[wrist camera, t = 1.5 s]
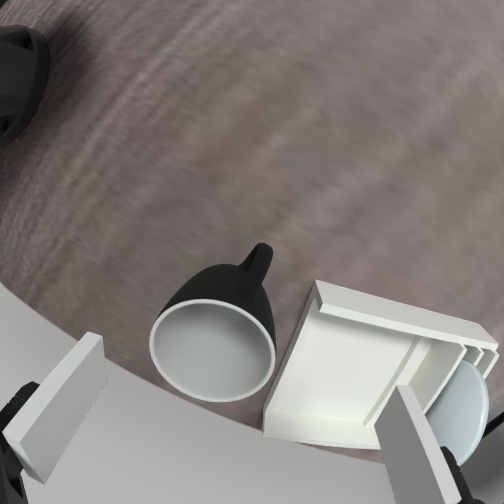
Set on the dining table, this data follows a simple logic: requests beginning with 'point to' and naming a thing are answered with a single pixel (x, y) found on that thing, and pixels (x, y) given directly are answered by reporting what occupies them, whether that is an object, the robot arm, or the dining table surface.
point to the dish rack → (364, 365)
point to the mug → (218, 332)
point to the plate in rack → (460, 411)
